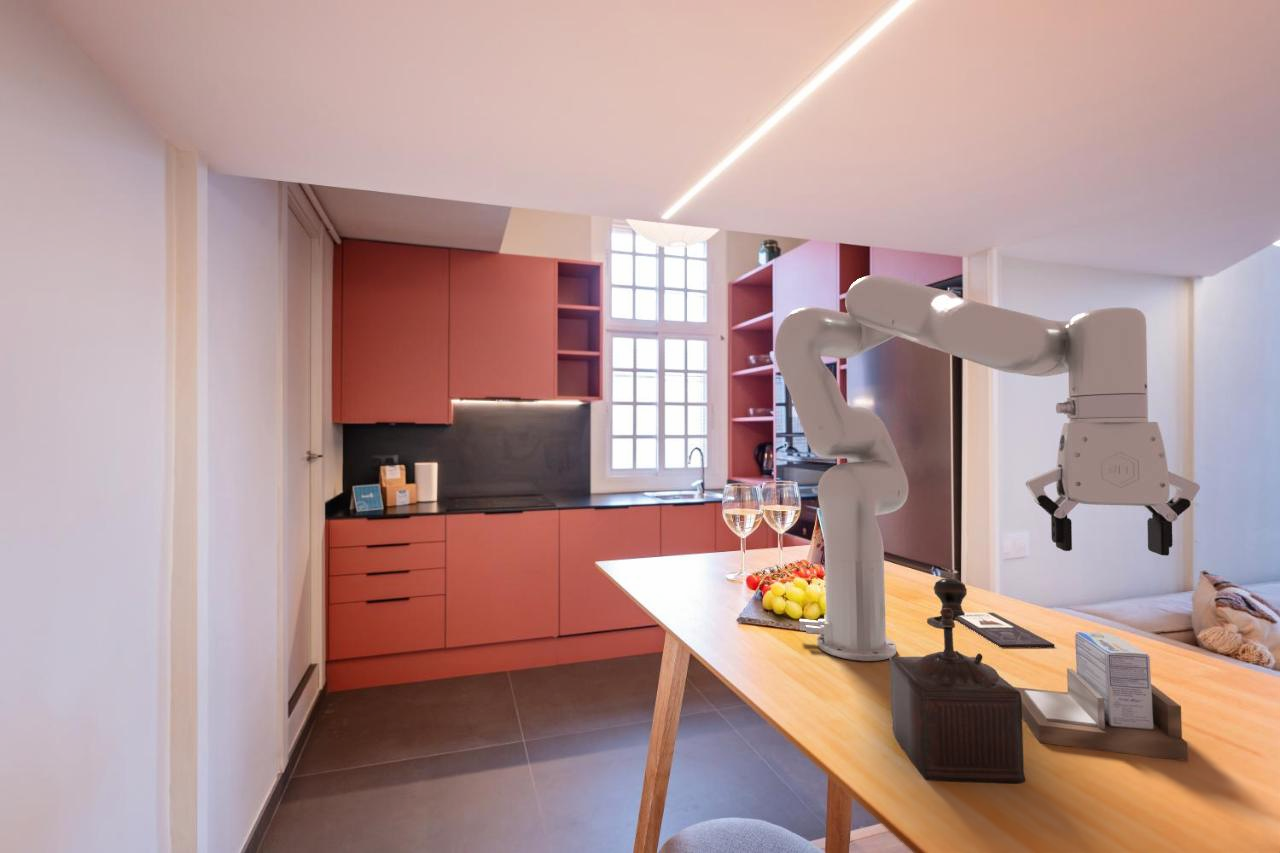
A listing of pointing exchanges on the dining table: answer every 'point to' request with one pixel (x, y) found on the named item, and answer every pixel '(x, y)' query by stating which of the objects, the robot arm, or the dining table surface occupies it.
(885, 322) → the robot arm
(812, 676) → the dining table surface
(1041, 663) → the dining table surface
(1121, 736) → the brown holder stand
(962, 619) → the chocolate bar
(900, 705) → the brown coffee grinder
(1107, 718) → the medicine box
